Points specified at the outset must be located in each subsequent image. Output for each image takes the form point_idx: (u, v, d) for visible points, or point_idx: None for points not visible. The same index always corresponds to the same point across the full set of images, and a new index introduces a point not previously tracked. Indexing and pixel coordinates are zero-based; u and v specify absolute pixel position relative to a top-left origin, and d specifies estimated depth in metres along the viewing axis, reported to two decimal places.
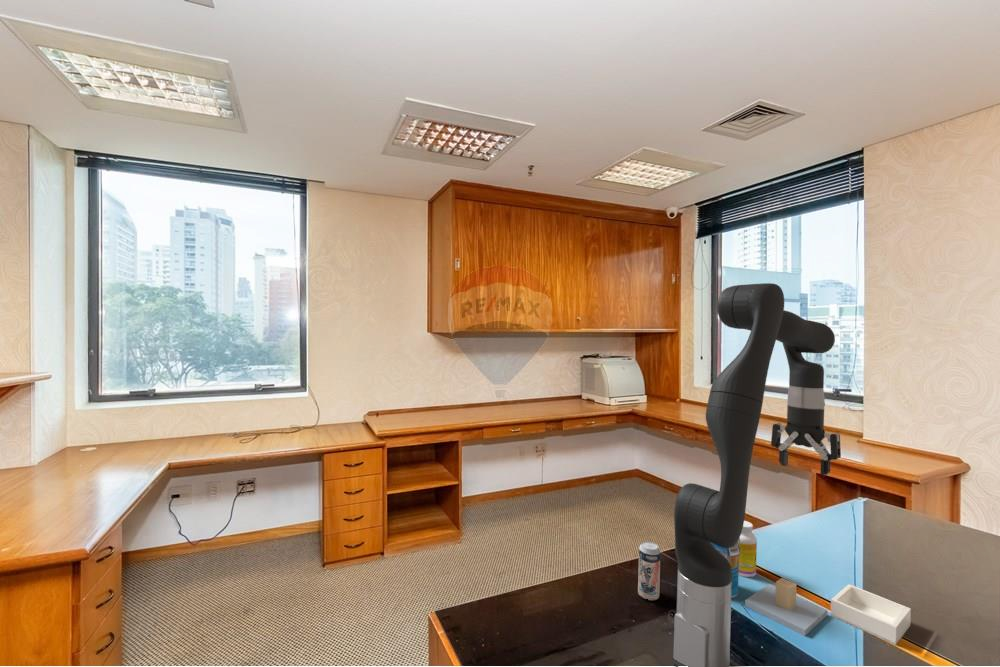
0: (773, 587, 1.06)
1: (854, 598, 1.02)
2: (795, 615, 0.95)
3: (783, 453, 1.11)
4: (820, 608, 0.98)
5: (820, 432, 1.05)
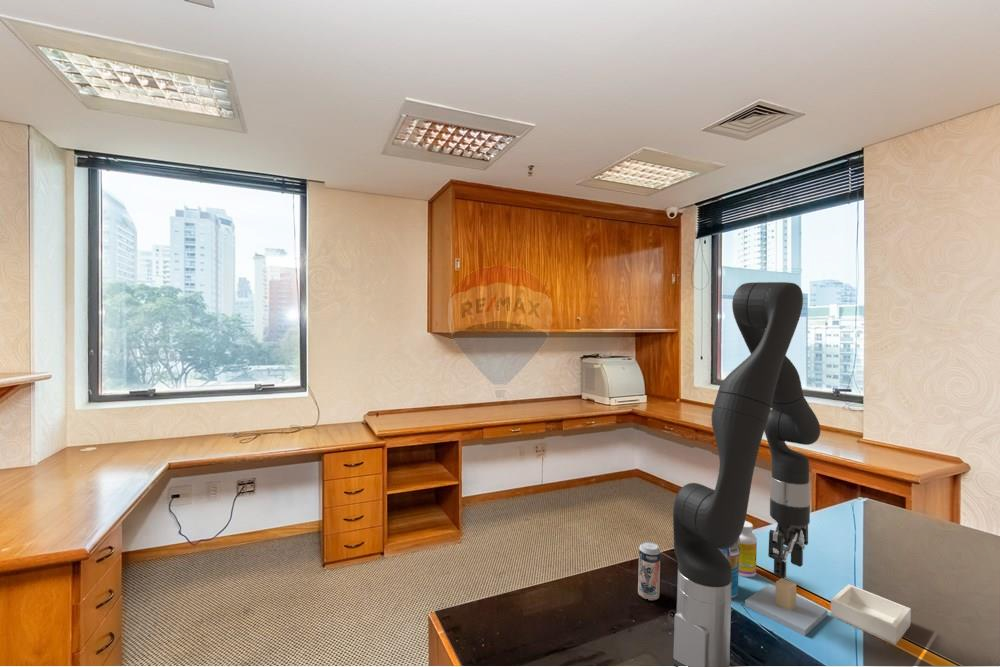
0: (773, 587, 1.06)
1: (854, 598, 1.02)
2: (795, 615, 0.95)
3: None
4: (820, 608, 0.98)
5: None
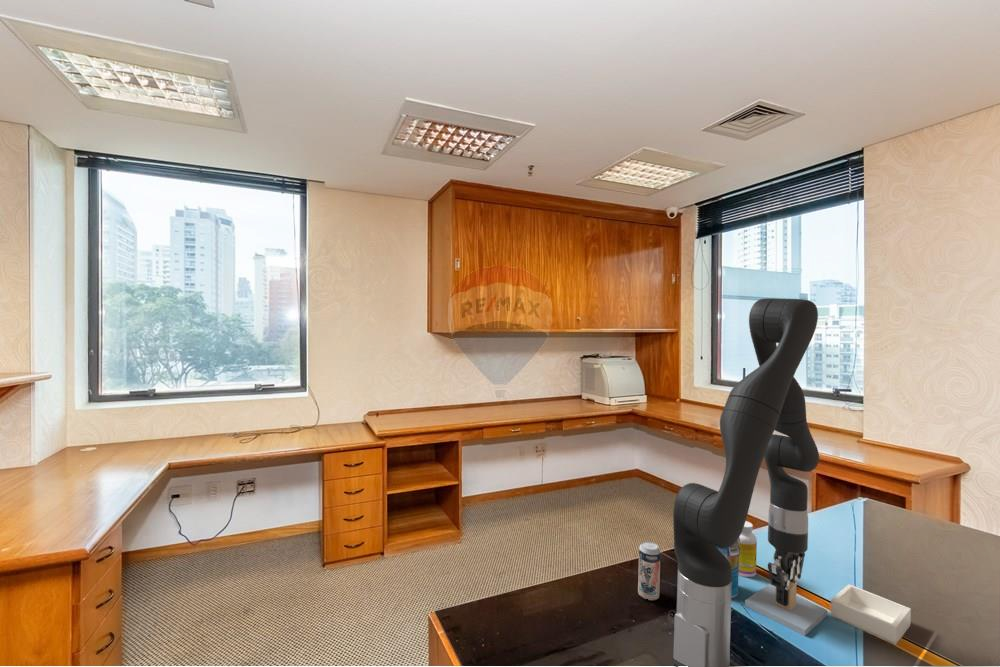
0: (773, 587, 1.06)
1: (854, 598, 1.02)
2: (795, 615, 0.95)
3: (788, 591, 0.97)
4: (820, 608, 0.98)
5: None
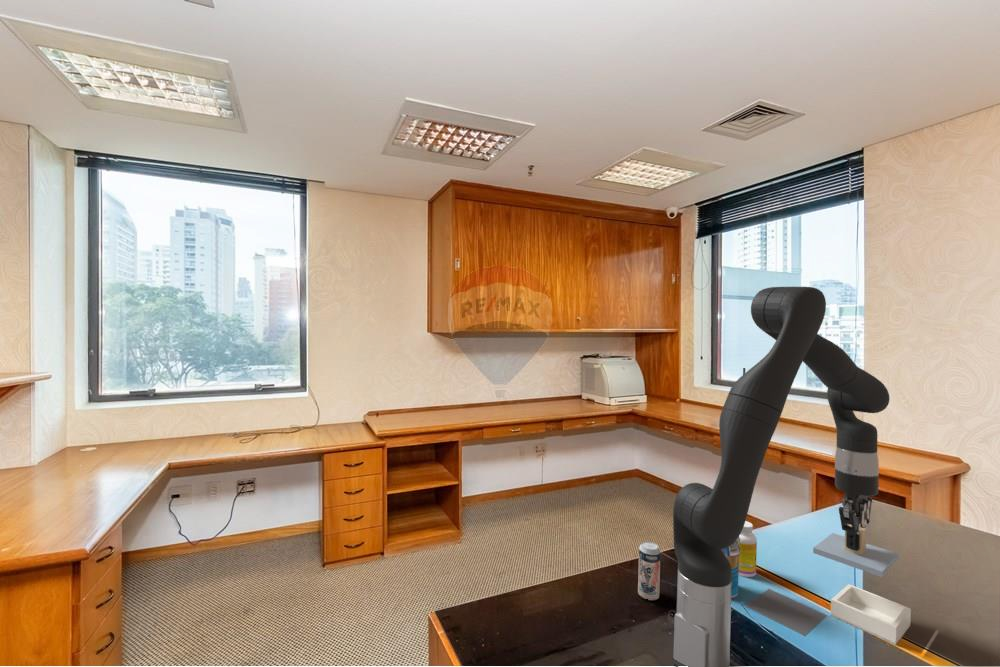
0: (838, 535, 1.04)
1: (854, 598, 1.02)
2: (868, 559, 0.93)
3: (859, 536, 0.95)
4: (891, 552, 0.96)
5: None
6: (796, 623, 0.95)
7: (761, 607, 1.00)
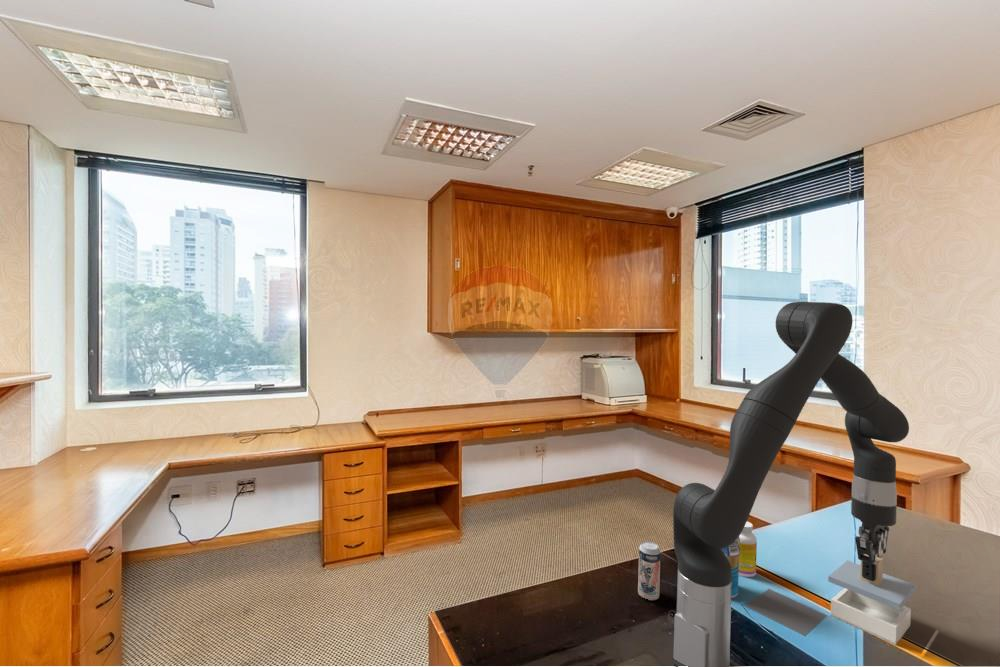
0: (853, 564, 1.03)
1: (854, 598, 1.02)
2: (884, 590, 0.92)
3: None
4: (908, 583, 0.95)
5: None
6: (796, 623, 0.95)
7: (761, 607, 1.00)
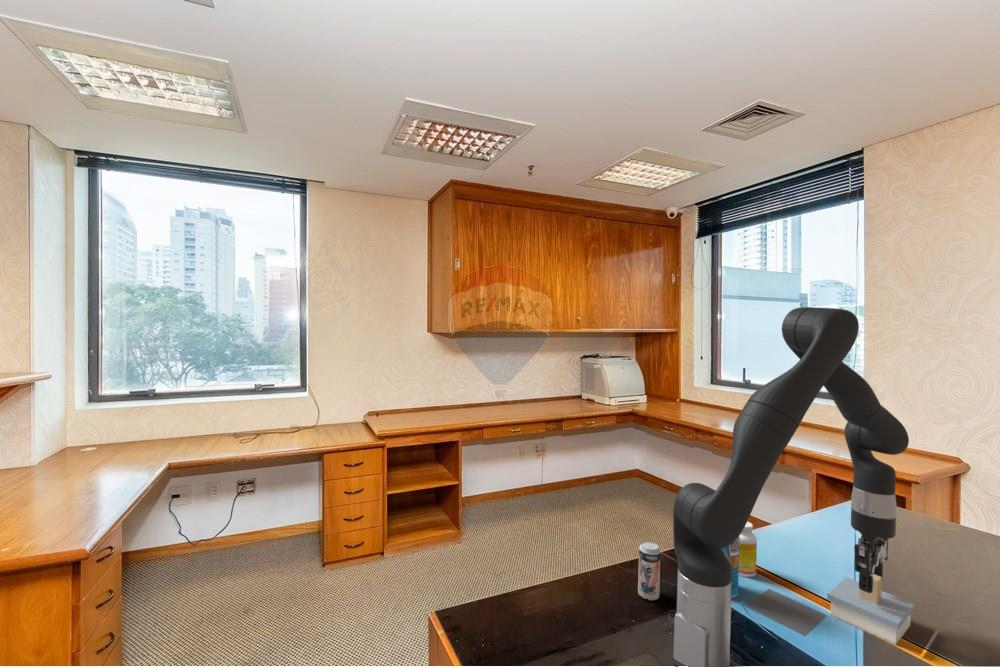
0: (852, 581, 1.03)
1: None
2: (883, 609, 0.92)
3: (872, 578, 0.93)
4: (907, 602, 0.95)
5: None
6: (796, 623, 0.95)
7: (761, 607, 1.00)
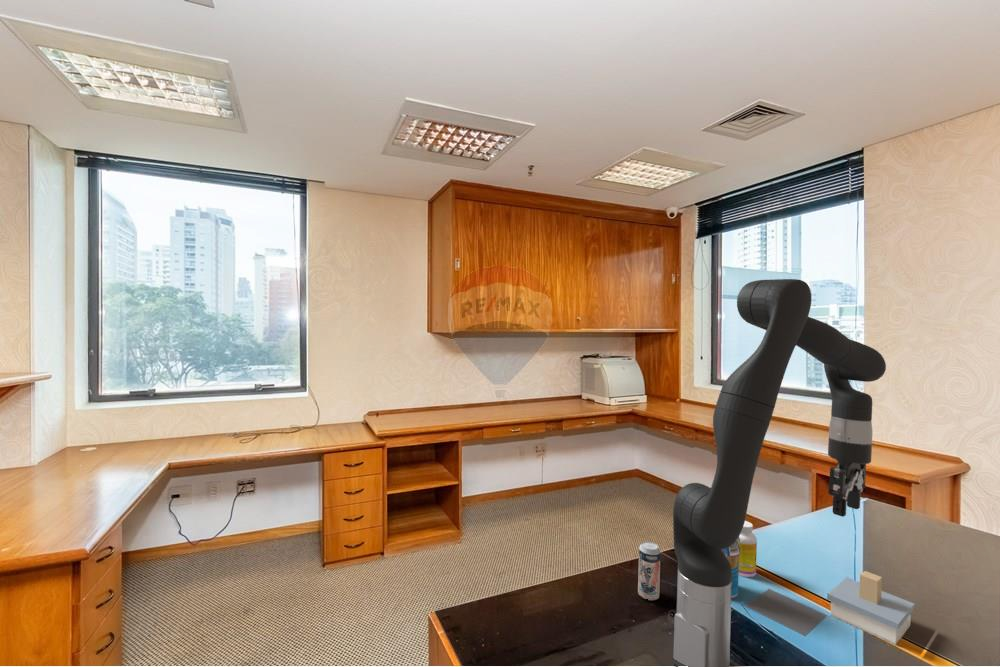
0: (852, 581, 1.03)
1: None
2: (883, 609, 0.92)
3: (846, 501, 0.94)
4: (907, 602, 0.95)
5: (860, 464, 0.98)
6: (796, 623, 0.95)
7: (761, 607, 1.00)
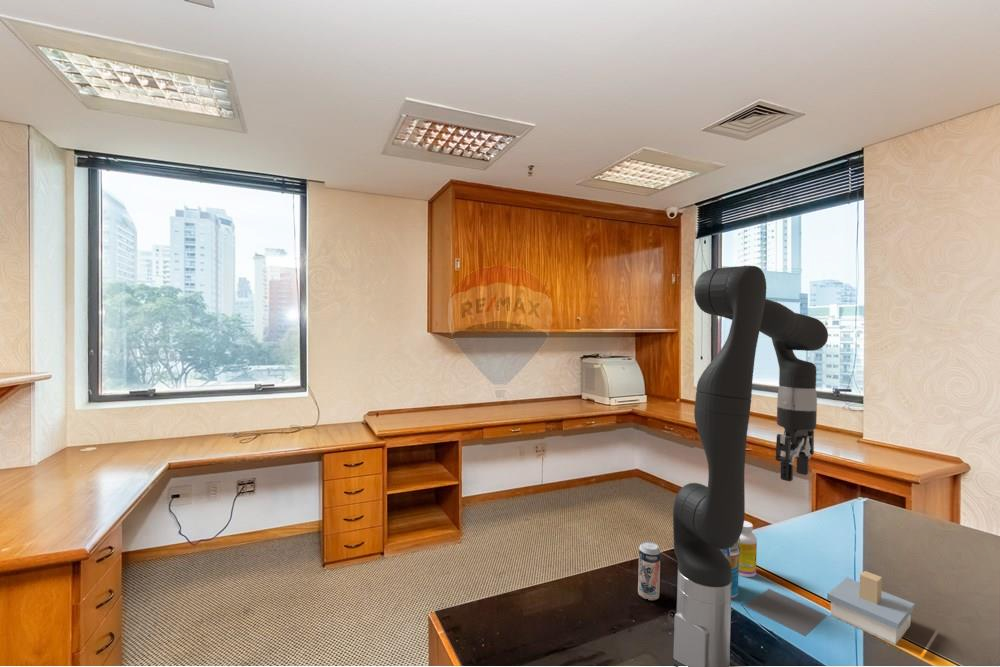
0: (852, 581, 1.03)
1: None
2: (883, 609, 0.92)
3: (792, 466, 0.97)
4: (907, 602, 0.95)
5: (807, 431, 1.02)
6: (796, 623, 0.95)
7: (761, 607, 1.00)
